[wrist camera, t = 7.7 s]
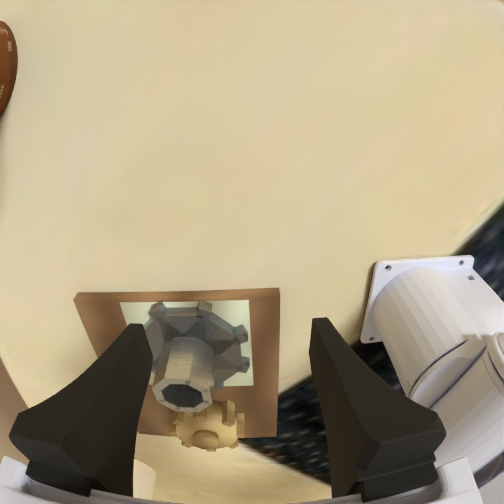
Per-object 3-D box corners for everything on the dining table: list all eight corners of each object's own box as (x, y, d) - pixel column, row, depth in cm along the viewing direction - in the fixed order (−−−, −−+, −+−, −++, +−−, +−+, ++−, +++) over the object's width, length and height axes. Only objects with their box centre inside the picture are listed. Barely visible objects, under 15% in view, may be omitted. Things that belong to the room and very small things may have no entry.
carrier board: (278, 287, 24) (285, 329, 20) (275, 429, 33) (278, 462, 29) (77, 292, 24) (55, 328, 20) (140, 426, 33) (133, 457, 29)
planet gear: (245, 298, 23) (246, 350, 18) (251, 381, 27) (252, 429, 23) (121, 301, 23) (99, 348, 18) (149, 380, 27) (139, 425, 23)
